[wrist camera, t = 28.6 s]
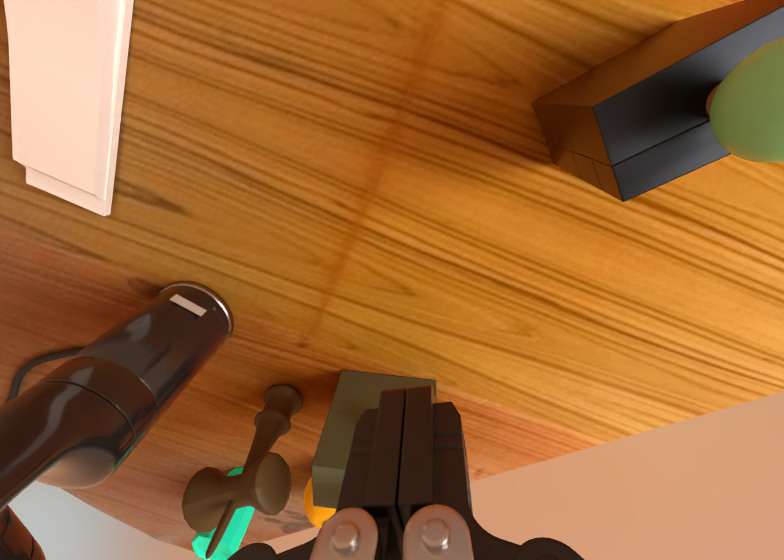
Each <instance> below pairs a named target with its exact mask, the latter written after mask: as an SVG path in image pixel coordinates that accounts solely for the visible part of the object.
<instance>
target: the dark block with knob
mask: <svg viewBox="0 0 784 560" xmlns="http://www.w3.org/2000/svg"><path fill="white" fill-rule="evenodd" d="M531 104H532V107H533V109H534V112H535V114H536V117H537V120H538V122H539V125H540V128H541V130H542V133H543V136H544V138H545V141H546V144H547V146H548V149H549V151H550V154H551V157H552V159H553V162H554V164H555V165H556V166H558V167H560V168H562V169H564V170H565V171H567V172H569V173H571V174H573V175H575V176H576V177H578V178H580V179H582V180H584V181H586V182H588V183H589V184H591V185H593V186H595V187H597V188H599V189H600V190H602V191H604V192H606V193H608V194H610V195H611V196H613V197H615V198H617V199H619V200H621V201H622V202H625V201H627V200H629V199H631V198H634V197H636V196H638V195H640V194H643V193H645V192H647V191H649V190H651V189H654V188H656V187H658V186H660V185H663V184H665V183H667V182H669V181H672V180H674V179H676V178H678V177H681V176H683V175H685V174H687V173H690V172H692V171H694V170H696V169H698V168H701V167H703V166H705V165H707V164H710V163H712V162H714V161H716V160H719V159H721V158H723V157H725V156H728V155H730V154H733V155H735V156H737V157H739V158H742V159H745V160H749V161H753V162H763V163H778V162H784V0H744V1H741V2H737V3H734V4H731V5H728V6H724V7H721V8H718V9H715V10H711V11H708V12H705V13H702V14H698V15H695V16H692V17H689V18H685V19H682V20H679V21H677V22H675V23H674V24H672V25H670V26H668V27H666V28H665V29H663V30H661V31H659V32H657V33H656V34H654V35H652V36H650V37H648V38H647V39H645V40H643V41H641V42H639V43H638V44H636V45H634V46H632V47H631V48H629V49H627V50H625V51H623V52H622V53H620V54H618V55H616V56H614V57H613V58H611V59H609V60H607V61H605V62H604V63H602V64H600V65H598V66H596V67H595V68H593V69H591V70H589V71H587V72H586V73H584V74H582V75H580V76H578V77H577V78H575V79H573V80H571V81H570V82H568V83H566V84H564V85H562V86H561V87H559V88H557V89H555V90H553V91H552V92H550V93H548V94H546V95H544V96H543V97H541V98H539V99H537V100H535V101H534V102H532V103H531Z"/></svg>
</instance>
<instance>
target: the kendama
mask: <svg viewBox="0 0 784 560" xmlns="http://www.w3.org/2000/svg"><path fill="white" fill-rule="evenodd" d="M264 402H265V407H264V409H263V411H261V412H259V413H258V414H257V415H256V417H255V418H254V422H255V426H256V433H255V436H254V440H253V443H252V446H251V449H250V452H249V455H248V457H247V460H246V463H245V465H244V468H243V470H242V473H241V474H238V475H234V476H226V475H225V474H224V473H222V472H221V471H220V470H218V469H217V468H212V467H206V468H204V469H202V470H200V471H198V472H197V473H196V474H195V475H194V476H193V477H192V479H191V480H190V481H189V483H188V485H187V487H186V490H185V492H184V495H183V502H182V510H183V514H184V519H185V520H186V522H187V523H188V525H189V526H190V528H192V529H194V530H195V531H197V532H199V533H203V532H211V531H212V530H214V529H215V528H216V527H217V528H216V530H215V532H214V534H213V536H212V539H211V541H210V543H209V546H208V548H207V551H206V554H205V557H206V559H208V558H210V557H211V556H212V555H213V553H214V551H215V550H216V548H217V546H218V544H219V542H220V541H221V539H222V537H223V535H224V533H225V531H226V529H227V527H228V525H229V523H230V521H231V519H232V517H233V515H234V513H235V511H236V509H238V508H242V507H248V506H252V507H254V508H256V509H257V510H259V511H260V512H262V513H264V514H266V515H277V514H278V513H279V512H280V511H282V510H283V509H284V507H285V505H286V503H287V501H288V499H289V495H290V491H291V474H290V470H289V467H288V465H287V463H286V462H285V460H284V459H283V458H282V457H281V456H280V455H279V454H277V453H272V452H269V450H270V449H271V447H272V446H273V444H274V443H275V441H276V440H277V439H278V438H279V437H280V436H281V435H284V434H286V433H287V432H288V431H289V430H290V429H291V423H290V418H291V416H292V415H293V414H295V413H297V412H299V410H300V409H301V408H302V406H303V400H302V398H301V396H300V394H299V393H298V392H297V391H296V390H295V389H293V388H291V387H290V386H286V385H277V386H273V387H271V388H269V389H268V390H267V392H266V393H265V394H264ZM268 452H269V453H268Z"/></svg>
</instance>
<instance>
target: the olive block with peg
mask: <svg viewBox="0 0 784 560" xmlns="http://www.w3.org/2000/svg"><path fill="white" fill-rule="evenodd" d="M426 385H432V386H433V390H434V395H435V400H436V403H437V398H436V380H428V379H419V378H410V377H401V376H392V375H383V374H374V373H365V372H356V371H346V370H342V373H341V376H340V379H339V382H338V385H337V388H336V391H335V394H334V397H333V400H332V403H331V407H330V410H329V413H328V416H327V419H326V422H325V425H324V428H323V431H322V434H321V437H320V441H319V444H318V447H317V450H316V453H315V456H314V459H313V462H312V466H311V468H312V491H313V506H318V507H326V508H333V509H337V505H338V501H339V496H340V492H341V487H342V483H343V479H344V474H345V470H346V466H347V461H348V457H349V456H350V453H349V452H350V448H351V444H352V443H353V440H352V439H353V435H354V430H355V426H356V423H357V421H358V420H359V419H360V417H361V416H362V414H363V413H364V411H365V410H366V409H375V408H378V407H379V401H380V395H381V391H382V390H385V389H395V388H408V387H416V386H426Z"/></svg>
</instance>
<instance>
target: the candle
mask: <svg viewBox="0 0 784 560" xmlns="http://www.w3.org/2000/svg"><path fill="white" fill-rule="evenodd" d="M243 468H244V467H241V468H234V469H233V470H232V471H230V472H229V474H228V476H234V475H238V474H241V473H242V470H243ZM254 510H255V508H254V507H252V506H248V507H242V508H238V509H236V511H235V513H234V515H233V517H232V519H231V521H230V523H229V525H228V527H227V529H226V531H225V533H224V535H223V537H222V539H221V541H220V542H219V544H218V546H217V548H216V550H215V551H214V553H213V555H212V556H211V557H210V558H208V559H206V557H205V554H206V551H207V548H208V546H209V543H210V541H211V539H212V536H213V534H214V532H215V530H216V528H217V527H216V528H215V529H214V530H212V531H211V532H203V533H199V532H197V534H196V536H195V537H194V539H193V541H192V547H193V549H194V552H195V554H196V556H197V557H199V558H201V559H203V560H227V559H228V558H229V557H230V556H232V555H233V554H234V553H235V552H236V551H237V550H238V548H239V546H240V543H241V541H242V539H243V536H244V534H245V532H246V529H247V527H248V525H249V522H250V520H251V517H252V515H253V513H254Z"/></svg>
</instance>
